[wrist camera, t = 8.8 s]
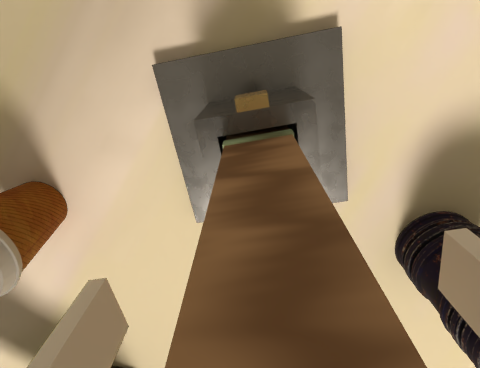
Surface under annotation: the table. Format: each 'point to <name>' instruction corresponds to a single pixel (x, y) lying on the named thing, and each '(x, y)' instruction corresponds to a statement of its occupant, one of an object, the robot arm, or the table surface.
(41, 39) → the table surface
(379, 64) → the table surface
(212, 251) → the column
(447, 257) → the robot arm
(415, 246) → the storage jar
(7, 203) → the disposable coffee cup
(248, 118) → the grey socket base
